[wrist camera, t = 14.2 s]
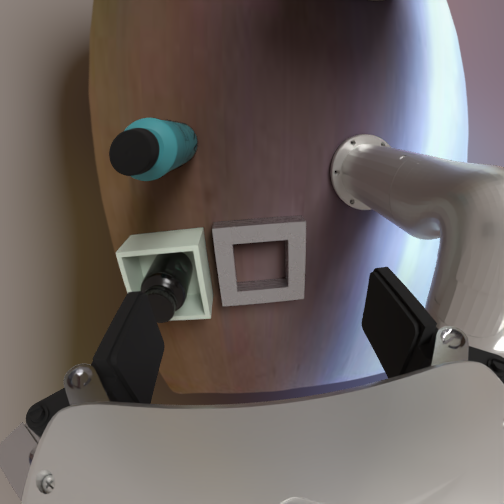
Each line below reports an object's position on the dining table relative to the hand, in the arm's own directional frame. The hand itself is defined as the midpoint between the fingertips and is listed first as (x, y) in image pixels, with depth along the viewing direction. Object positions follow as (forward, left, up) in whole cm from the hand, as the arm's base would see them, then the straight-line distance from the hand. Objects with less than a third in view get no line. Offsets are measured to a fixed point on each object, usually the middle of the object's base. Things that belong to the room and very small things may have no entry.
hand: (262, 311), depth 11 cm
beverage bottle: (+9, -6, -32) cm, 34 cm away
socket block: (-2, +14, -32) cm, 35 cm away
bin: (+13, +14, -32) cm, 37 cm away
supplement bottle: (+12, +13, -31) cm, 36 cm away
